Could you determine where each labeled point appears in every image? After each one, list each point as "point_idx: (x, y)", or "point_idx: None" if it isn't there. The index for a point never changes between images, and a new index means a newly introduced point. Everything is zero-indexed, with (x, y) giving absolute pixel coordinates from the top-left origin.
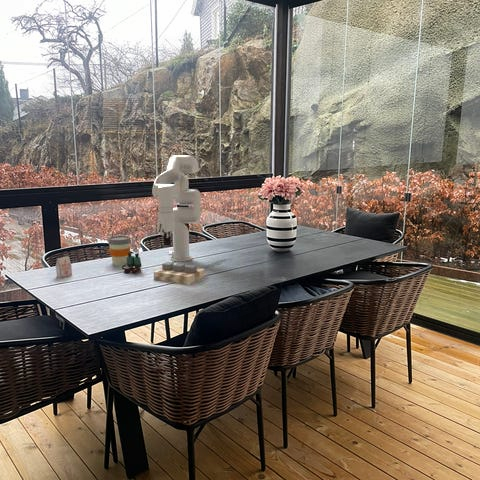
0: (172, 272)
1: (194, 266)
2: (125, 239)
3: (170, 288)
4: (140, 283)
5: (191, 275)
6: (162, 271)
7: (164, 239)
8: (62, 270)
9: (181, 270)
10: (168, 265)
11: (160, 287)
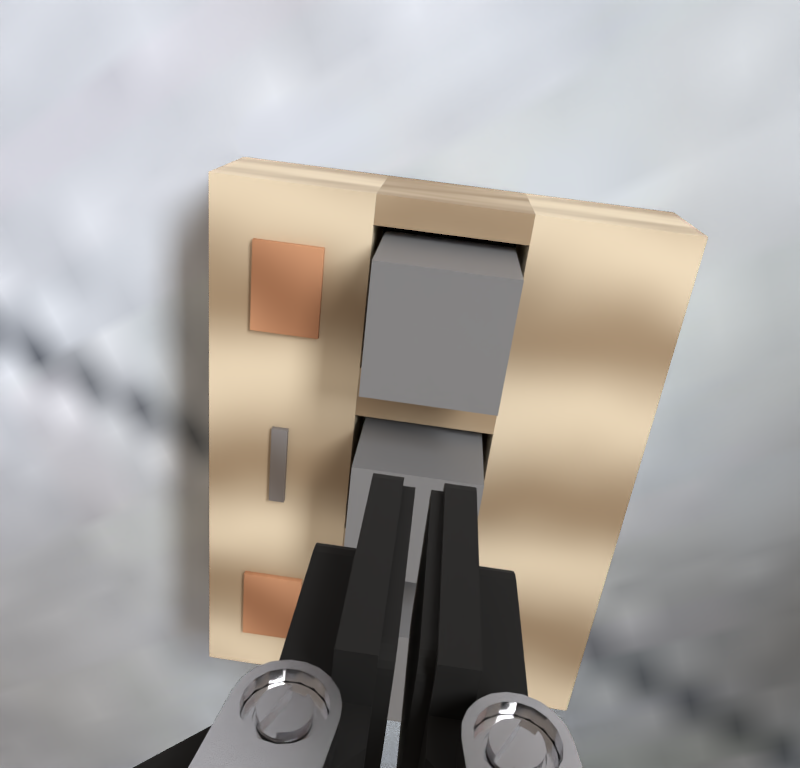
0: (271, 449)
1: (390, 715)
2: None
3: (39, 486)
4: (9, 68)
5: (261, 664)
6: (261, 303)
7: (284, 646)
8: None
9: None
10: (362, 378)
11: (13, 383)
